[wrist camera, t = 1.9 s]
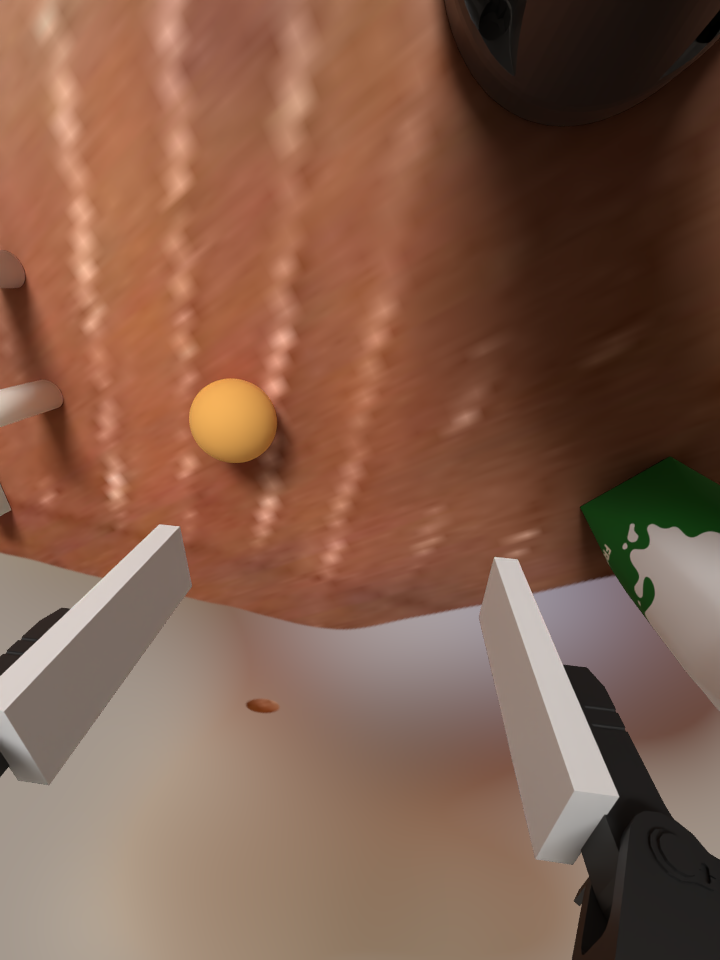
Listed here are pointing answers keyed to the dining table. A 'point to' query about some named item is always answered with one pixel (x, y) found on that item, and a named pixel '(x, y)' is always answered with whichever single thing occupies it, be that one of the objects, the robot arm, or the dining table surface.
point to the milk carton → (668, 559)
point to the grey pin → (10, 271)
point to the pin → (28, 400)
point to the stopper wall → (3, 503)
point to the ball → (233, 420)
